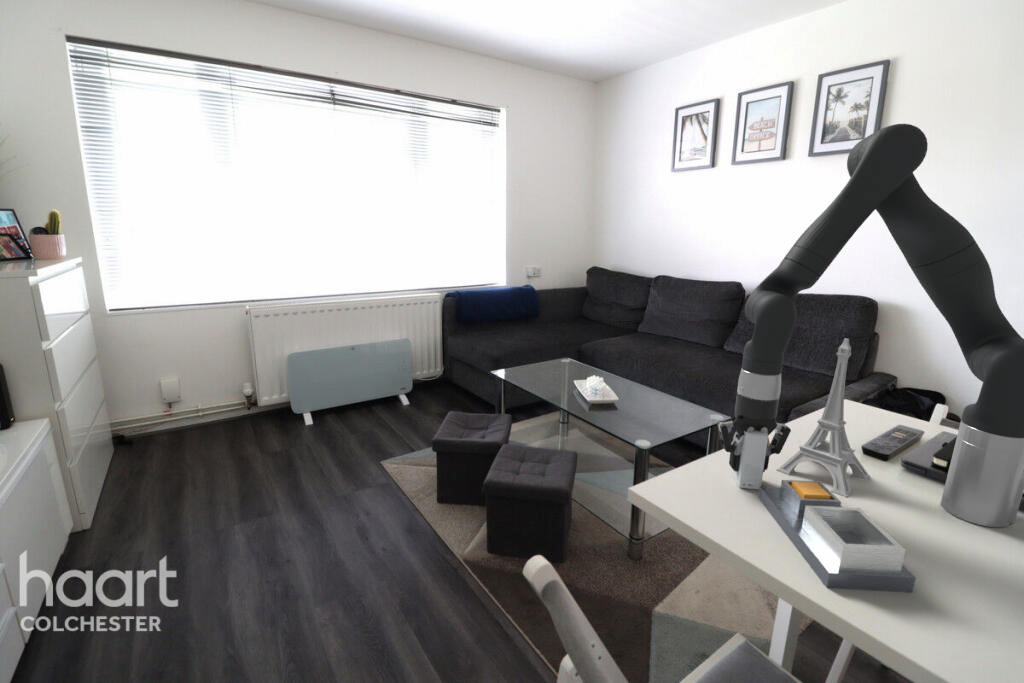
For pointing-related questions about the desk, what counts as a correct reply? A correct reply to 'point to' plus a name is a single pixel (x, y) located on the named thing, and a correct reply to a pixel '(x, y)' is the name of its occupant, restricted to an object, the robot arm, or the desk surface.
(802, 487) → the button
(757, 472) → the skincare box
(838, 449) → the eiffel tower
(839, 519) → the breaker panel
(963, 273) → the robot arm
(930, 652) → the desk surface
